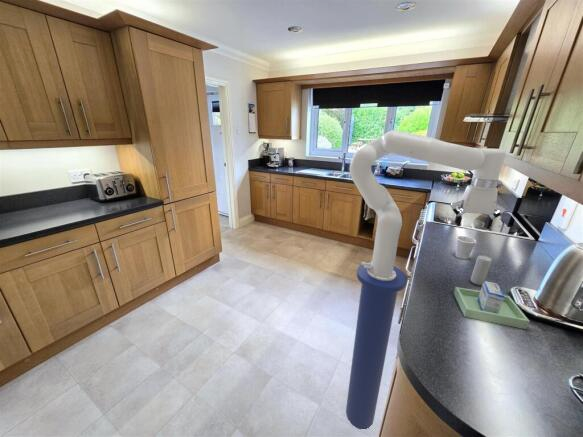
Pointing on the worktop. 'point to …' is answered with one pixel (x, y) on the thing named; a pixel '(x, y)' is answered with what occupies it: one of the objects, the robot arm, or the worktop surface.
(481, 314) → the tray
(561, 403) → the worktop surface
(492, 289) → the medicine box
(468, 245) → the dixie cup
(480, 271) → the beverage can
